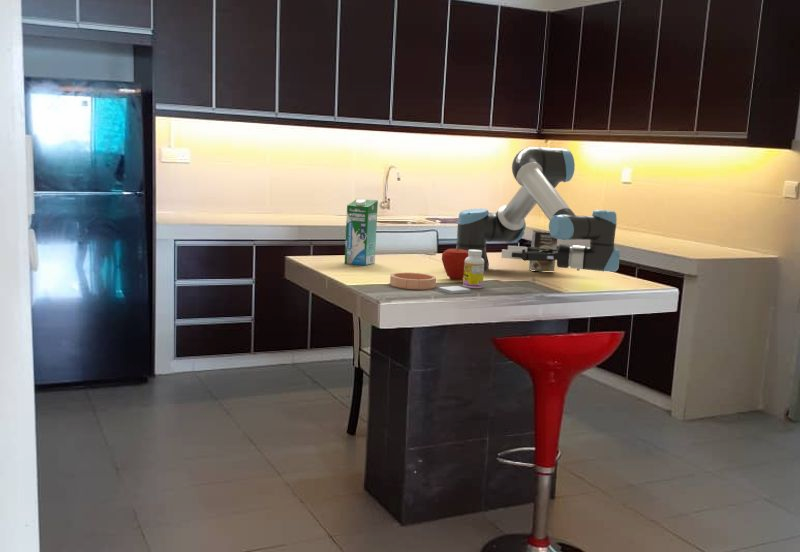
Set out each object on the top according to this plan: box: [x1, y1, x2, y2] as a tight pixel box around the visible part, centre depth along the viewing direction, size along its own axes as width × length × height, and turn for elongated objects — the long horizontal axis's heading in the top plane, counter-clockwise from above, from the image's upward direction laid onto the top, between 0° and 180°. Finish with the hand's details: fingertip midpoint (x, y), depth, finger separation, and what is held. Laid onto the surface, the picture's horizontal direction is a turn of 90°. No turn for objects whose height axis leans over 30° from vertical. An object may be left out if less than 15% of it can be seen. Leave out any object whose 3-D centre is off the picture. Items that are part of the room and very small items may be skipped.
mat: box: [430, 288, 477, 296], centre depth 249 cm, size 12×9×1 cm
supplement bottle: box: [462, 250, 485, 289], centre depth 260 cm, size 7×7×13 cm
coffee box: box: [528, 230, 558, 272], centre depth 308 cm, size 9×6×16 cm
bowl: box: [389, 272, 437, 290], centre depth 256 cm, size 15×15×4 cm
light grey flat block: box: [438, 285, 471, 295], centre depth 249 cm, size 8×6×1 cm
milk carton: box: [344, 198, 379, 266], centre depth 302 cm, size 9×9×25 cm
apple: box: [441, 247, 469, 281], centre depth 274 cm, size 11×11×12 cm
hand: (504, 251), depth 256 cm, fingers open, 13 cm apart
